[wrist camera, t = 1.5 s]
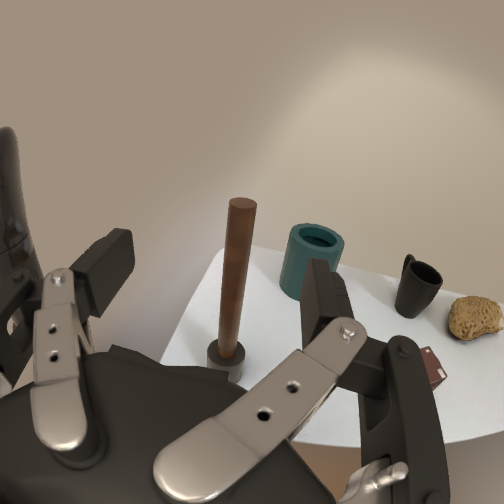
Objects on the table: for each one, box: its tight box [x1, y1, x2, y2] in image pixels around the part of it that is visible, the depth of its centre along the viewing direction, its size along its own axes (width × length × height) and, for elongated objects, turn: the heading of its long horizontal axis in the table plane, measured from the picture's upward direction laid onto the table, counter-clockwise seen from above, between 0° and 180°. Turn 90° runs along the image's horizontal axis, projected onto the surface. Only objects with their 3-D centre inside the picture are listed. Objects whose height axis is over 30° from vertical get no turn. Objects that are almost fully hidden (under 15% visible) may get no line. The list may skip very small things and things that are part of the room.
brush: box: [207, 197, 257, 384], centre depth 28 cm, size 5×5×24 cm
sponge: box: [448, 296, 504, 341], centre depth 43 cm, size 13×8×20 cm
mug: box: [395, 254, 443, 319], centre depth 48 cm, size 8×12×10 cm
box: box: [420, 346, 447, 391], centre depth 31 cm, size 6×6×7 cm
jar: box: [279, 223, 344, 301], centre depth 50 cm, size 10×10×11 cm
